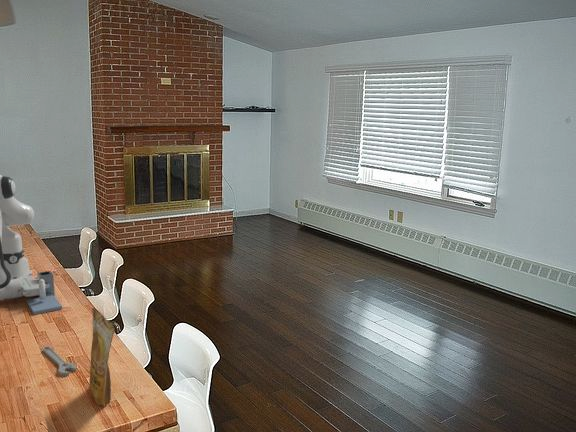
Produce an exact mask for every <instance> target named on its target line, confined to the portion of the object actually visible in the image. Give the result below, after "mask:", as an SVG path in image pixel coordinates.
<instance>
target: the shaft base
mask: <svg viewBox="0 0 576 432" xmlns="http://www.w3.org/2000/svg"><path fill="white" fill-rule="evenodd" d="M38 284H39V295H38V296H39V297H36V298H30V299H26V303H27V305H28V307H29V309H30V311H31V312H32V314H33V316H35V315H39V314H44V313H49V312H55V311H60V310H63V305H62V304H61V302H60V301H59V300H58V299H57V297H56V295H55V296H54V295H51V296H46V293H45V281H44V280H43V279H40V280H39V281H38Z"/></svg>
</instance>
